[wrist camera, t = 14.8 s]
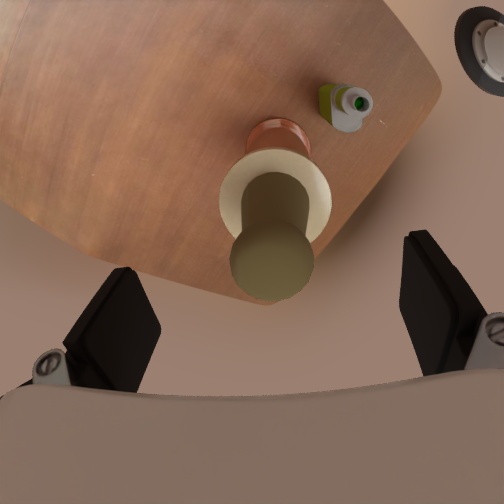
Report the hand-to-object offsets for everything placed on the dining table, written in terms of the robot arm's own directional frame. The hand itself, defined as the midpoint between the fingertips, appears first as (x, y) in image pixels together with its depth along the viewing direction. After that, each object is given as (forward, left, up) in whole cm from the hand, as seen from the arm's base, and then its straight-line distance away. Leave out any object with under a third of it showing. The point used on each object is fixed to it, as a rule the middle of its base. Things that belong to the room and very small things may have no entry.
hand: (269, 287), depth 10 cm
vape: (-6, -6, -42) cm, 43 cm away
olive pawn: (-1, +4, -18) cm, 18 cm away
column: (-1, +4, -42) cm, 42 cm away
